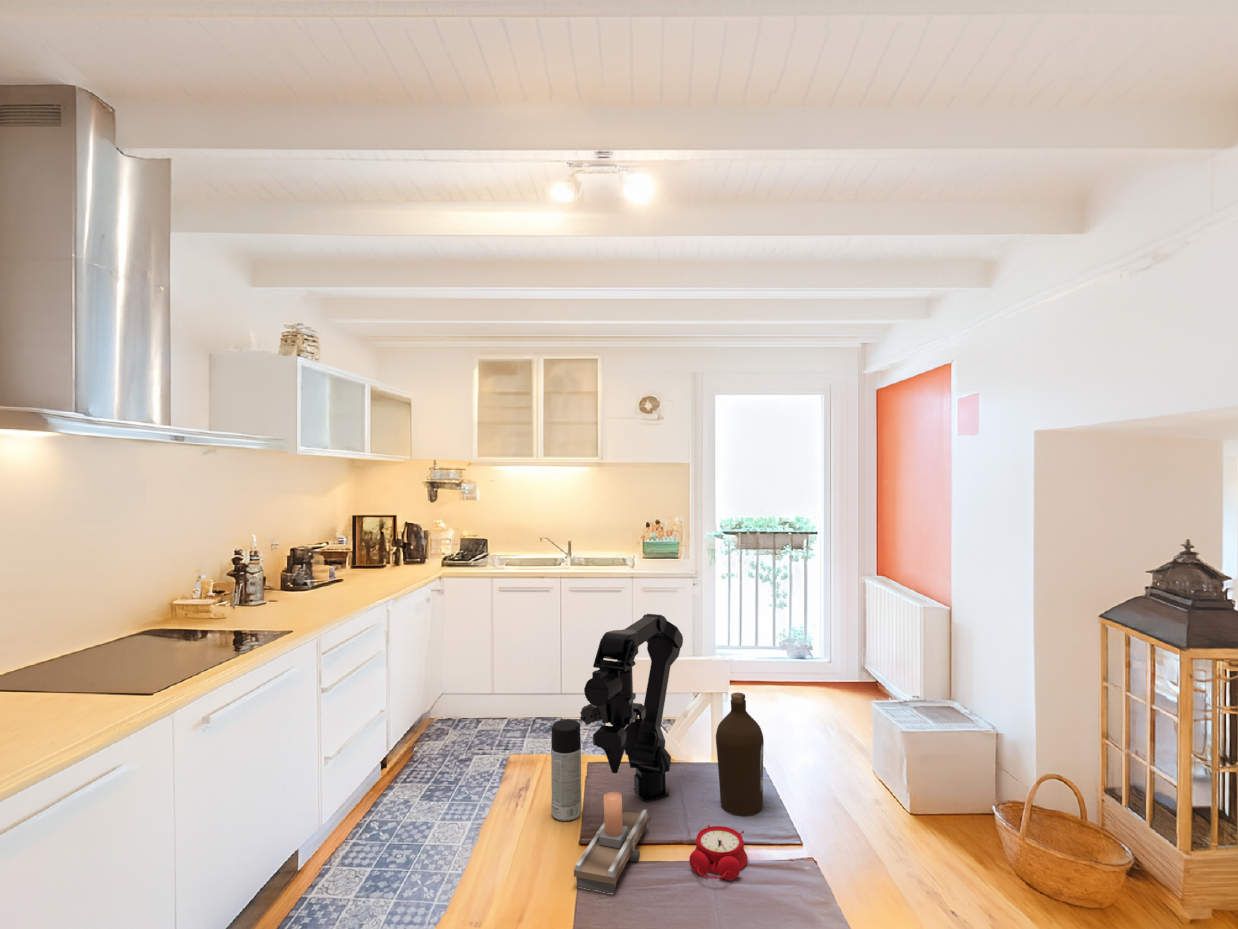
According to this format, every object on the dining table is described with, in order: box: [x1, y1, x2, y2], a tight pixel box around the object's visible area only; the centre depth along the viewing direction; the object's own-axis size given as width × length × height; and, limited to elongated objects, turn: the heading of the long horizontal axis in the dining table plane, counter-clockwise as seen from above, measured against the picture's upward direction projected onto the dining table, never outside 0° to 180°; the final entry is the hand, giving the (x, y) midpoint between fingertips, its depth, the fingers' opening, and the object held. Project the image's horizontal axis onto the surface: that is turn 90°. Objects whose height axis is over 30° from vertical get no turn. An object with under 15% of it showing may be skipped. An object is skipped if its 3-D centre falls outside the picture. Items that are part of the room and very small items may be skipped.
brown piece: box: [573, 809, 650, 894], centre depth 129 cm, size 22×10×4 cm, turn 161°
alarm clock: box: [688, 824, 748, 881], centre depth 126 cm, size 10×6×15 cm
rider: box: [599, 791, 628, 848], centre depth 129 cm, size 5×4×9 cm
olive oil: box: [715, 692, 765, 817], centre depth 147 cm, size 11×11×25 cm
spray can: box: [550, 719, 582, 822], centre depth 146 cm, size 7×7×20 cm
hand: (621, 763), depth 141 cm, fingers open, 9 cm apart
